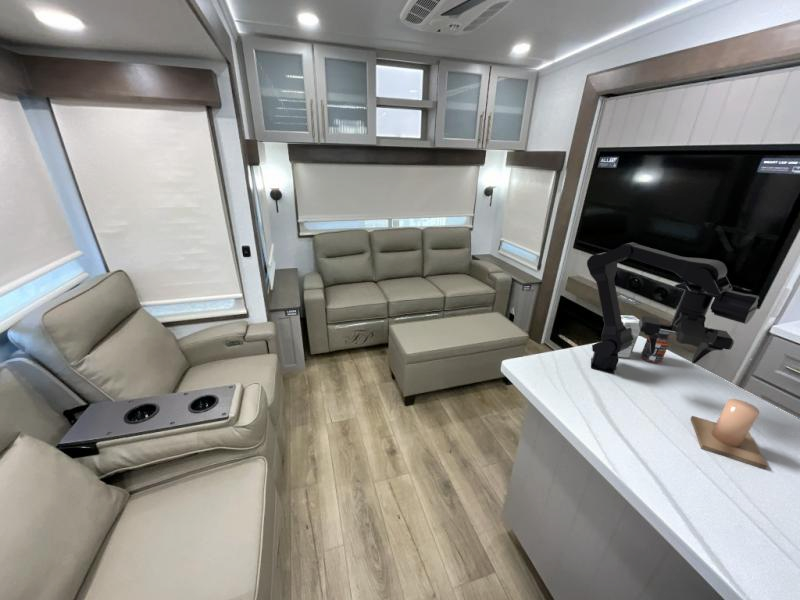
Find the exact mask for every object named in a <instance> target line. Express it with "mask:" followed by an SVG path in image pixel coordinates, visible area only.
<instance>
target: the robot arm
mask: <svg viewBox="0 0 800 600" xmlns="http://www.w3.org/2000/svg"><path fill="white" fill-rule="evenodd" d="M627 259H630V260H635V261H638V262H639V263H640V262H641V263H644V264H646V265H649V266H653V267H657V268H660V269H663V270H667V271H670V272H672V273H674V274H676V275H677V276H678V277H680V278H681V279H683V280H684V281H682V282H680V283H677V284H675V286H674V287H675V288H677V289H681V290H683V293H682V295H681V297H680V301H679V303H678V305H677V306H676V308H675V312H674V316H673V318H671V321H670V324H667V323H661V322H660V319H659V318H657V317H656V318H655V317H651V316H645V315H643V316H641V317H640V319H639V320H640V321H639V323H638V324H639V328H640V332H642V333H644V335H645V336H647V337H648V336H649V340H650V352H651V354H653V352H654V350H655V346H656V341H657V339H658V337H659V336H658V333H659V331H660V330H661V331H666V332H669V333H672V334H675V335H676V337H675V339H676V341H677V343H679V344H683V345H684V344H685V345H689V346H690V345H691V346H693V347H696V350H695V352H694V354H693V356H692V360H691V364H696V363H698V362H699V361H700V360H701V359H703V358H704V357H705V356H706V355H708V354H709V353H711V352H714V351H723V350H731V349H732V348H733V345H734V342H735V341H734V339H733V338H732V336H731V335H730V333H728V331H727V330H721V329H716V328H711V327H706V326H705V325H706V323H705V322H706V319H707V317H706V316H707V313H708V311H709V309H710V310H711V313H713V315H715V316H717V317H720V318H723V319H724V318H725V319H727V320H731V321H734V322H737V323H741V324H744V325H747V324H748V323H749V322H750V321H751V320H752V318H753V317H754V316H755V315H754V314H755V313H756V311H757V309H758V303H759V299H760V296H759V295H755V294H751V293H744V292H740V291H736V290H733V286H732V284H731V283H730V281H729V278H728V276H727V274H728V268H727V266H726V264H725V263H724V262H723V261H720V260H717V259H710V258H703V257H702V258H701V257H686V256H682V255H678V254H673V253H670V252H667V251H663V250H659V249H657V248H651V247H649V246H645V245H643V244H642V245H641V244H638V243H636V242H633V241H632V242H629V243H624V244H622V245H620V246H618V247H616V248H613V249H611V250H609V251H604V252H601V253H595V254H592V255H591V256H590V257H589V258H588V259H587V261H586V267H587V269H588V272H589V274H590V276H591V278H592V279H593V280H594V281H595V282H596V287H597V291H598V297H599V302H600V308H601V314H602V320H603V323H604V325H603V328H602V332H601V341H598V342H595V343H594V344H592V345H591V346H592V347H591V348H592V349H591V350H592V352H593V354H592V357H591V358H590V368H591V369H593V370H597V371H601V372H604V373H608V374H613V375H614V373H615V372H614V371H615V370H616V369H617V367H618V363H619V362H620V361H619V358H620V357H618V352H620V351H622V350H624V349H626V348H628V347H629V346H630V345H631V344H632V340H634V339H633V337H632V329H631V328H626V327H625V326H624V325H623V323H622V320H621V315H622V314H621V310H620V304H619V298H618V293H617V287H616V282H615V278H616V274H617V271H618V263H619V262H622V261H624V260H627Z"/></svg>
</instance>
